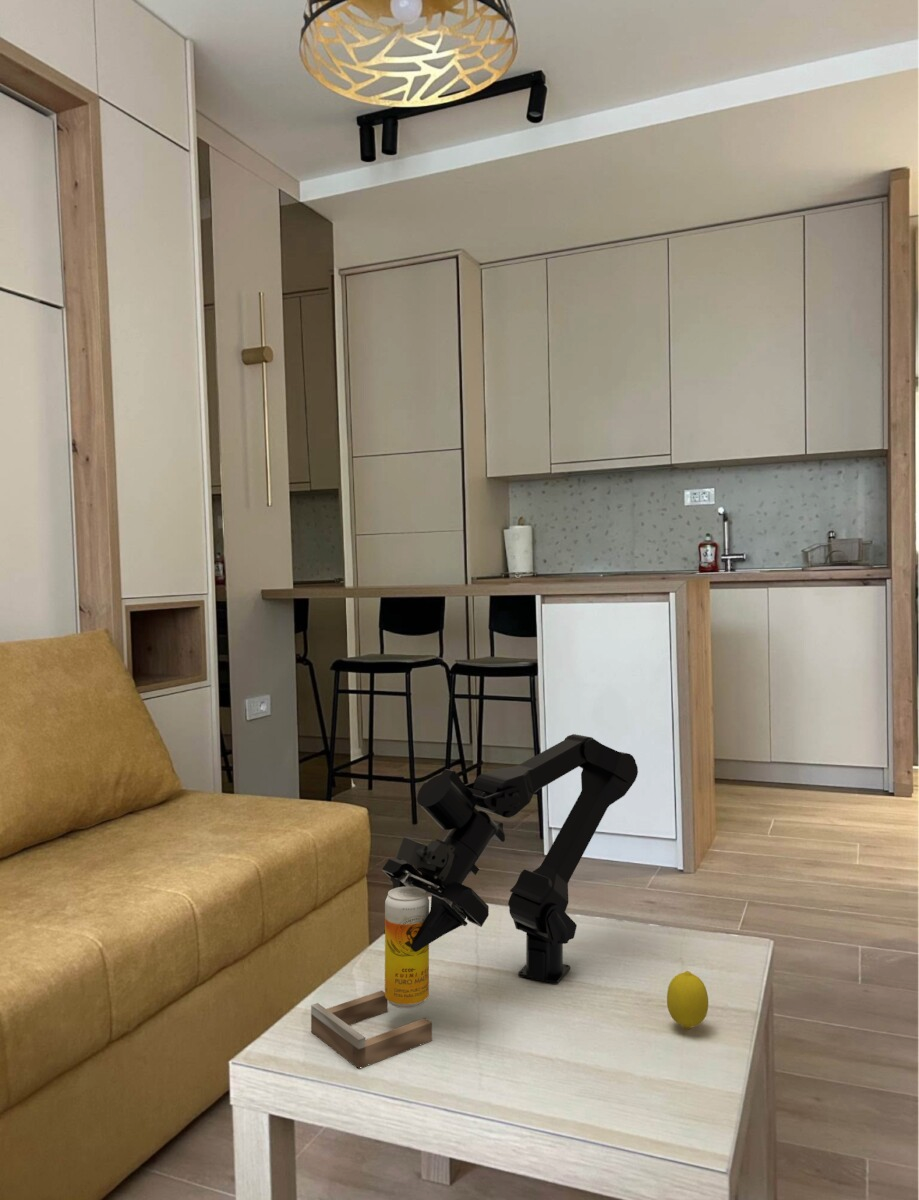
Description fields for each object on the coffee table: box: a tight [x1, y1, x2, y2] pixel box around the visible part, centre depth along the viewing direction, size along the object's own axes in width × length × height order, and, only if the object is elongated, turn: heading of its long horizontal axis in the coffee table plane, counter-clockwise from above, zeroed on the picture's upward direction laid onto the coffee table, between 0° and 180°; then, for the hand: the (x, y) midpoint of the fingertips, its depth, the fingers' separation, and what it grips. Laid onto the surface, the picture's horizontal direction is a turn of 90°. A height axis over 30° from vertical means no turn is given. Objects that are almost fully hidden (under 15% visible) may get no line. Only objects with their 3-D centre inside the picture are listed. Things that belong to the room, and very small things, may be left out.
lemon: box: [666, 970, 709, 1031], centre depth 124 cm, size 6×6×8 cm
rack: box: [310, 990, 433, 1069], centre depth 122 cm, size 12×12×4 cm
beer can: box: [384, 887, 430, 1009], centre depth 125 cm, size 6×6×15 cm
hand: (399, 942), depth 125 cm, fingers closed on beer can, 6 cm apart
